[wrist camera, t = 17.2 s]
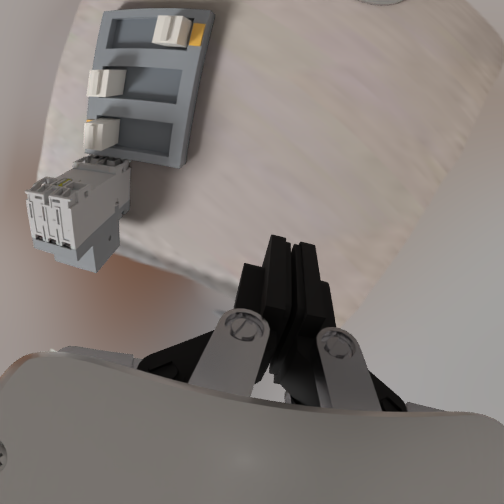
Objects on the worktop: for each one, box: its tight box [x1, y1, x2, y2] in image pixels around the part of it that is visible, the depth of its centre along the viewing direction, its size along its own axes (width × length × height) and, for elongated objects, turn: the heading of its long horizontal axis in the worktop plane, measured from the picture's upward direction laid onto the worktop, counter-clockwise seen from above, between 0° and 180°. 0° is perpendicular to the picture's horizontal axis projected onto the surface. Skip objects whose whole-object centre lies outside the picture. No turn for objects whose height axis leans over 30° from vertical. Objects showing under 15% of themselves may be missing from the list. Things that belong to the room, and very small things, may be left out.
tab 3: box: [152, 15, 193, 48], centre depth 26 cm, size 4×3×5 cm
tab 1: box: [87, 70, 127, 97], centre depth 30 cm, size 4×3×5 cm
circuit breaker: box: [25, 154, 131, 273], centre depth 37 cm, size 8×14×15 cm, turn 169°
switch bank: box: [85, 8, 215, 169], centre depth 32 cm, size 21×15×3 cm
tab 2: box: [83, 118, 120, 151], centre depth 33 cm, size 4×3×5 cm
